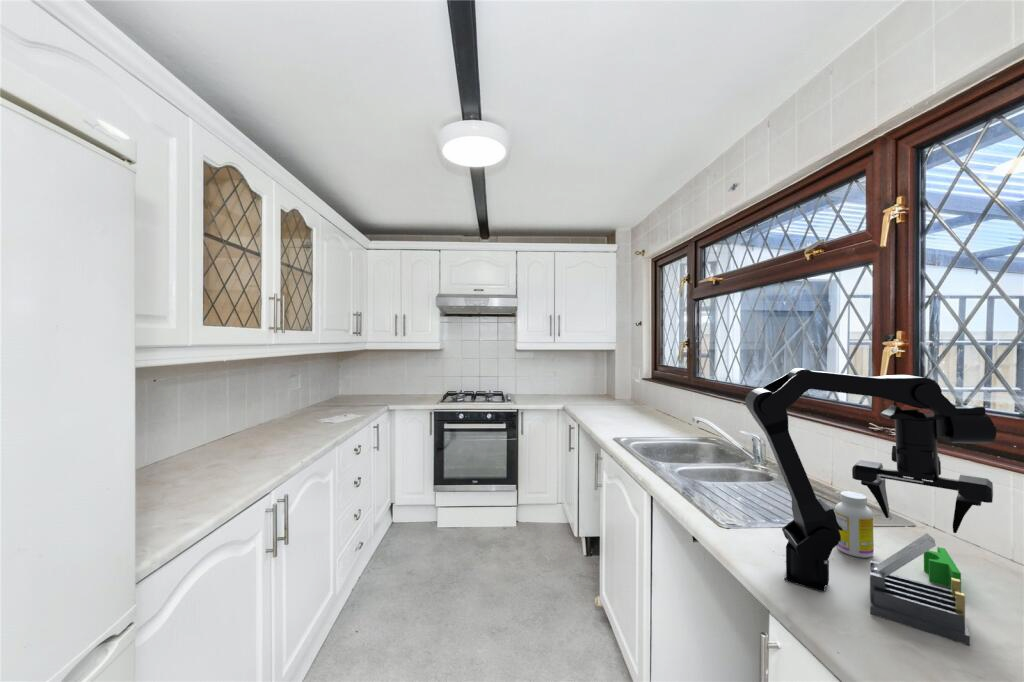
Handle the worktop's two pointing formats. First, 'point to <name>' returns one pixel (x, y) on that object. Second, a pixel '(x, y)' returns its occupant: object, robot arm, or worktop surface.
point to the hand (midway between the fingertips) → (919, 524)
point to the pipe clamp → (941, 567)
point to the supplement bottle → (855, 525)
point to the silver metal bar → (904, 556)
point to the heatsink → (920, 605)
